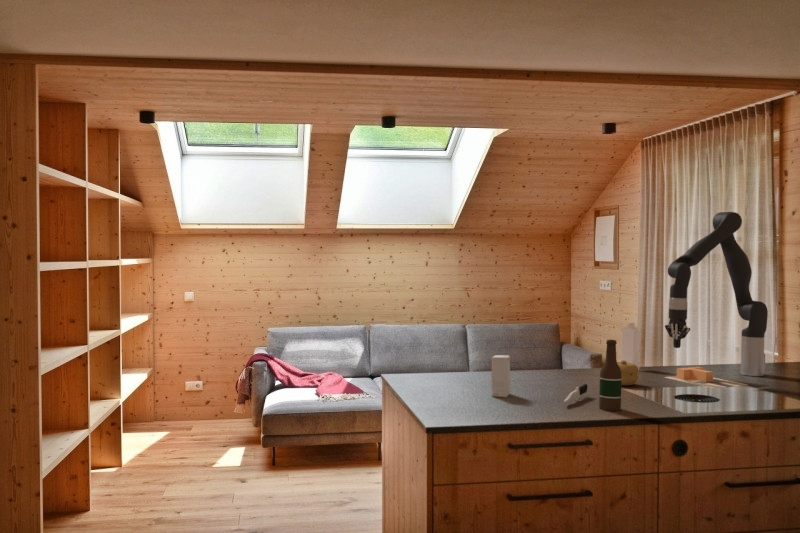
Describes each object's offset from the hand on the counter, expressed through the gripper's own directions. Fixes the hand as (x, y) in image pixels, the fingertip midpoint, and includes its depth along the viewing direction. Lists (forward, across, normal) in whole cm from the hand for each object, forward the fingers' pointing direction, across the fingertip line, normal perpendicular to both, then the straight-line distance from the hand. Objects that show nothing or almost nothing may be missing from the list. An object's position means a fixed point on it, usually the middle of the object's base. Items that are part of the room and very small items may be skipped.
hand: (676, 347), depth 317 cm
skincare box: (+14, -6, +94) cm, 95 cm away
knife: (+14, -26, +75) cm, 80 cm away
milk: (+13, +20, +8) cm, 25 cm away
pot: (+13, -6, +35) cm, 38 cm away
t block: (+12, -12, 0) cm, 17 cm away
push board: (+13, -16, 0) cm, 20 cm away
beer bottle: (+14, -40, +71) cm, 82 cm away
